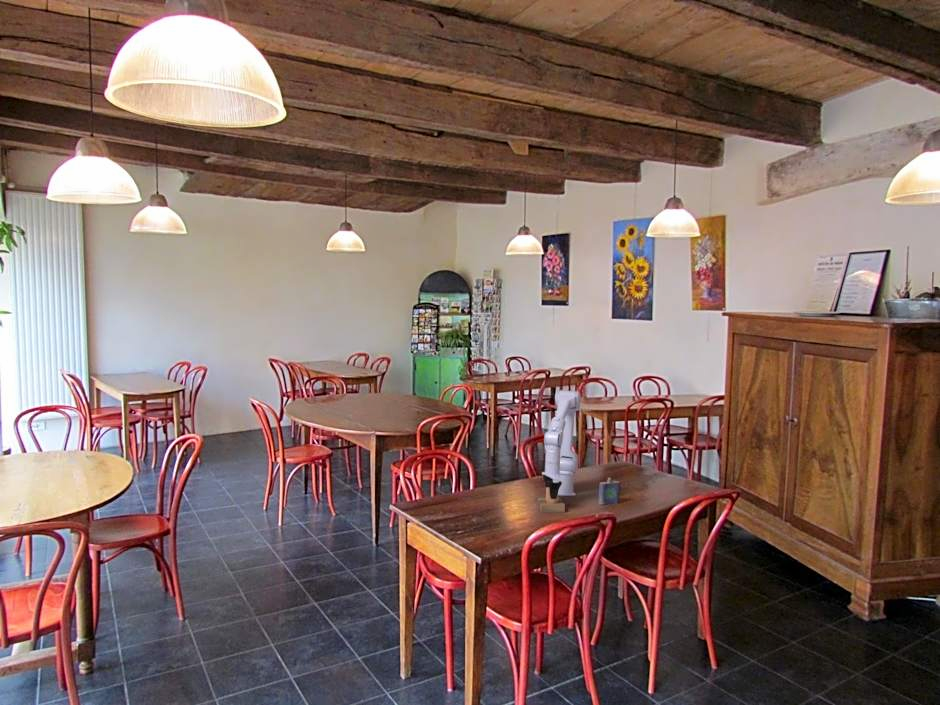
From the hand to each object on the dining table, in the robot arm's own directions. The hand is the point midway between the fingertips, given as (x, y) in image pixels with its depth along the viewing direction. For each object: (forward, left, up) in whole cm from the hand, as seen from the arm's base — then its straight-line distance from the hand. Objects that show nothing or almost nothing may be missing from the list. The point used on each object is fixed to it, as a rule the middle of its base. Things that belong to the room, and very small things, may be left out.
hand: (551, 495), depth 253 cm
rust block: (0, 0, -2) cm, 2 cm away
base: (0, 0, -5) cm, 5 cm away
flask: (-6, +25, -6) cm, 26 cm away
